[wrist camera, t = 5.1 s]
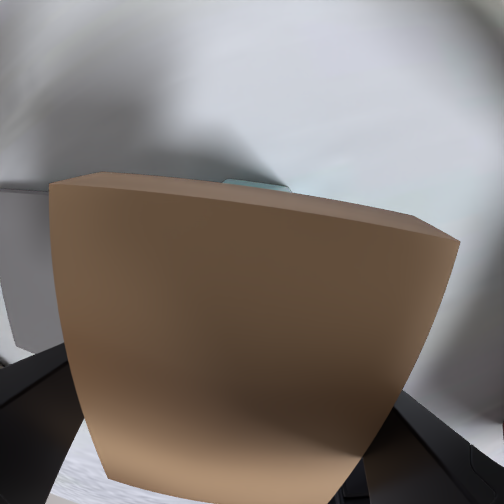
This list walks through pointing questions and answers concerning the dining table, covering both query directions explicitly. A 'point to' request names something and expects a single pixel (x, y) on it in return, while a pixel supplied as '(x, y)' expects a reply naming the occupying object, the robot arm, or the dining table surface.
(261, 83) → the dining table surface
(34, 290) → the mat
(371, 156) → the dining table surface
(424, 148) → the dining table surface
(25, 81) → the dining table surface
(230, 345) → the lid
